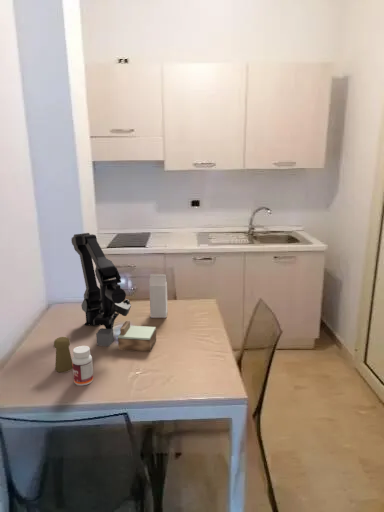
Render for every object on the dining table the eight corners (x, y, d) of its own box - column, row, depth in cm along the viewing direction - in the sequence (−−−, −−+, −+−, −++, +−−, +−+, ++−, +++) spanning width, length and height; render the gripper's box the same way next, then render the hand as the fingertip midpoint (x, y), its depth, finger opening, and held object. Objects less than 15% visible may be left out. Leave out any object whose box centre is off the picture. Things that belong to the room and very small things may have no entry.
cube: (96, 345, 157) (96, 333, 156) (101, 339, 162) (100, 328, 161) (109, 346, 157) (108, 334, 155) (113, 340, 161) (113, 328, 160)
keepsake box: (118, 349, 154) (118, 338, 152) (126, 338, 163) (126, 327, 162) (150, 351, 152) (149, 340, 151) (156, 339, 161) (155, 329, 160)
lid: (118, 338, 152) (117, 330, 152) (126, 327, 162) (125, 319, 161) (149, 340, 151) (149, 332, 150) (155, 328, 160) (155, 321, 159)
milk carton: (166, 317, 182) (165, 277, 178) (150, 317, 183) (148, 277, 178) (167, 311, 189) (166, 272, 185) (152, 311, 189) (150, 272, 185)
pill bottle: (70, 380, 134) (68, 348, 131) (88, 373, 137) (86, 342, 134) (79, 388, 129) (76, 355, 126) (96, 381, 133) (94, 349, 130)
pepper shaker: (77, 365, 143) (74, 336, 140) (65, 374, 137) (62, 343, 135) (63, 362, 145) (60, 333, 142) (51, 370, 140) (48, 340, 137)
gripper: (120, 305, 151) (122, 344, 154) (134, 289, 168) (136, 324, 172) (91, 304, 152) (94, 342, 156) (108, 288, 170) (110, 323, 174)
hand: (110, 332), depth 164 cm, fingers closed
